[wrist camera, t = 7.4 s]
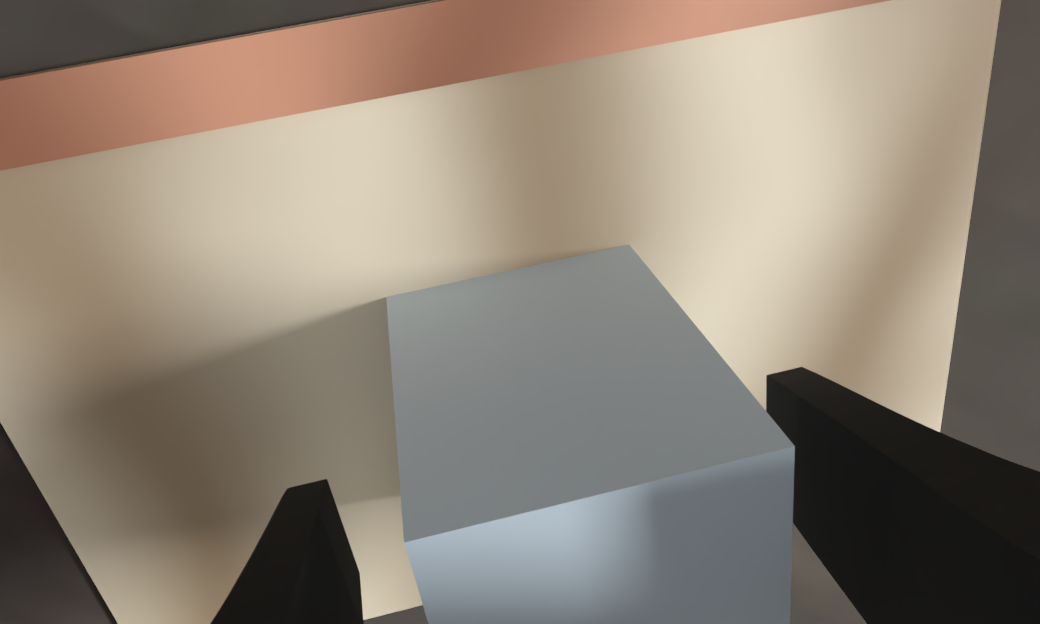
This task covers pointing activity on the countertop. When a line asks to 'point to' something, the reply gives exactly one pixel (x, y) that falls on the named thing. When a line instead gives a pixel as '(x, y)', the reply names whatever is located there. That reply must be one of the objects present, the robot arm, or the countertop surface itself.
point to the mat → (448, 238)
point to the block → (583, 455)
